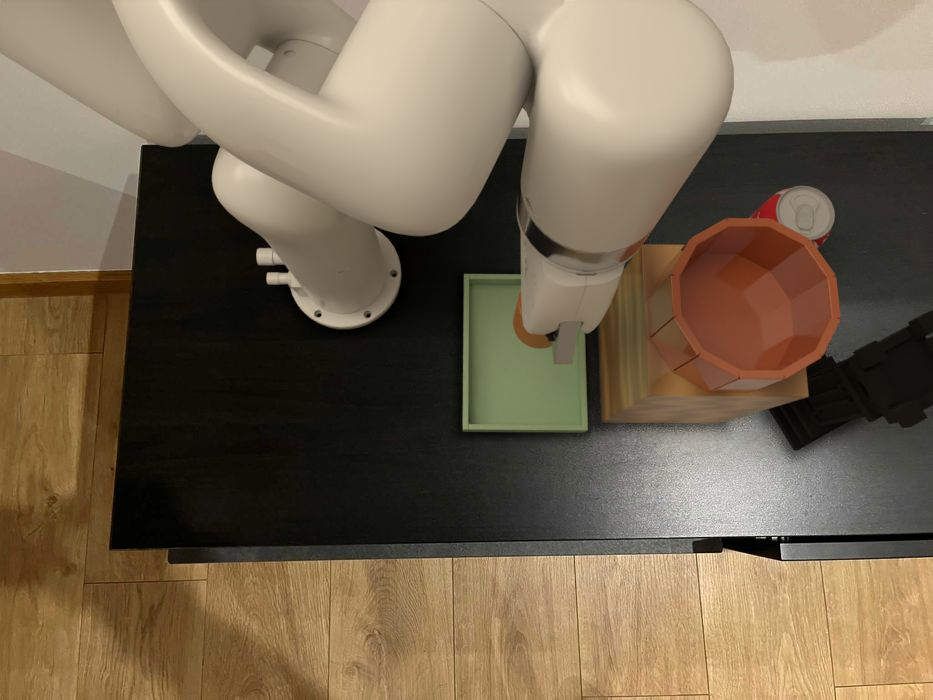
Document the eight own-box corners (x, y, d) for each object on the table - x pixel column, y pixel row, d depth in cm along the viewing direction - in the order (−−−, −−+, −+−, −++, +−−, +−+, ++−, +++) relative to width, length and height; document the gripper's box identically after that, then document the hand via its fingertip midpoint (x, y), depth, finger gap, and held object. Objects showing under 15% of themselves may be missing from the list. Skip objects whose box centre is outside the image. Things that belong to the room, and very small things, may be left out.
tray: (462, 431, 75) (462, 429, 73) (463, 280, 79) (463, 273, 77) (583, 432, 75) (588, 430, 73) (579, 281, 79) (583, 274, 77)
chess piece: (794, 450, 75) (910, 433, 56) (754, 385, 77) (853, 347, 57) (855, 416, 76) (991, 388, 56) (814, 353, 77) (933, 304, 58)
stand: (601, 422, 76) (648, 395, 56) (597, 307, 78) (641, 244, 59) (719, 423, 76) (809, 396, 56) (711, 308, 78) (794, 245, 59)
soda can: (786, 228, 81) (841, 182, 69) (786, 286, 79) (842, 249, 67) (725, 223, 81) (770, 175, 69) (724, 280, 79) (769, 242, 67)
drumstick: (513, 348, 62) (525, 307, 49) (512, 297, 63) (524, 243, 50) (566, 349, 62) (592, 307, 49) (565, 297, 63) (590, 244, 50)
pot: (652, 392, 56) (676, 378, 50) (645, 247, 59) (666, 217, 53) (805, 393, 56) (848, 379, 50) (790, 248, 59) (830, 218, 53)
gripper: (516, 61, 39) (501, 200, 57) (519, 350, 35) (502, 401, 53) (650, 62, 39) (592, 201, 57) (666, 351, 35) (600, 401, 53)
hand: (549, 297), depth 55 cm, fingers closed on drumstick, 3 cm apart
